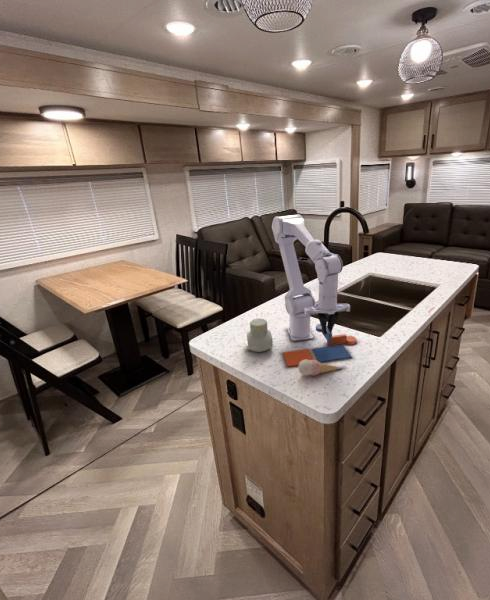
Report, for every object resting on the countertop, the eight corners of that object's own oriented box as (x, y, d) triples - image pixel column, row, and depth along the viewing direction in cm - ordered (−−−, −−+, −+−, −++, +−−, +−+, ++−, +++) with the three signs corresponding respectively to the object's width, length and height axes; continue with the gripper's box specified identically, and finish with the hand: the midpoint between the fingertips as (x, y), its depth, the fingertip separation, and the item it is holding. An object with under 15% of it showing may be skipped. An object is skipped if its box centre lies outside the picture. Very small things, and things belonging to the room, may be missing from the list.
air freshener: (273, 354, 108) (272, 328, 104) (249, 357, 107) (247, 330, 103) (269, 338, 118) (268, 314, 114) (247, 340, 117) (245, 316, 113)
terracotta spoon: (329, 347, 112) (329, 340, 110) (325, 341, 115) (325, 334, 114) (358, 343, 114) (358, 336, 112) (353, 338, 117) (354, 331, 116)
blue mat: (312, 349, 110) (312, 348, 110) (342, 345, 113) (342, 344, 112) (319, 362, 103) (319, 361, 103) (351, 358, 105) (351, 356, 105)
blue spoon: (336, 341, 102) (336, 333, 101) (324, 343, 101) (324, 334, 100) (325, 326, 112) (325, 318, 111) (314, 327, 111) (314, 319, 110)
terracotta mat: (282, 353, 108) (282, 352, 108) (308, 350, 110) (308, 349, 110) (287, 367, 101) (287, 365, 101) (315, 363, 103) (315, 362, 103)
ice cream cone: (338, 365, 103) (294, 364, 98) (344, 357, 100) (299, 356, 95) (341, 378, 100) (297, 378, 95) (348, 371, 97) (302, 370, 92)
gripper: (308, 301, 94) (308, 341, 99) (355, 296, 97) (352, 335, 102) (302, 292, 100) (302, 330, 106) (346, 288, 103) (344, 325, 108)
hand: (326, 332), depth 104 cm, fingers closed on blue spoon
